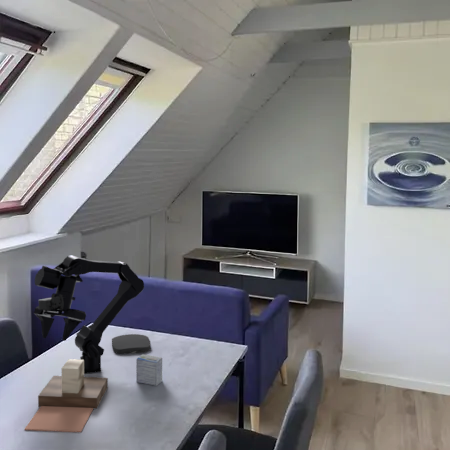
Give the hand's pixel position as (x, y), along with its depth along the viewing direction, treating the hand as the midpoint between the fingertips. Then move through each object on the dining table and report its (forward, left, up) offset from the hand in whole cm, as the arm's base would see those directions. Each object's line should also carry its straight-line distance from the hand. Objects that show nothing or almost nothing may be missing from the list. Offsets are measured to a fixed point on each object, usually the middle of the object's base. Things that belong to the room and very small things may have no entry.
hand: (53, 339), depth 172 cm
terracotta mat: (-1, +22, -16) cm, 28 cm away
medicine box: (-31, +5, -17) cm, 35 cm away
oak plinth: (-6, +9, -16) cm, 20 cm away
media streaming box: (-30, -28, -17) cm, 44 cm away
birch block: (-5, +10, -13) cm, 17 cm away
